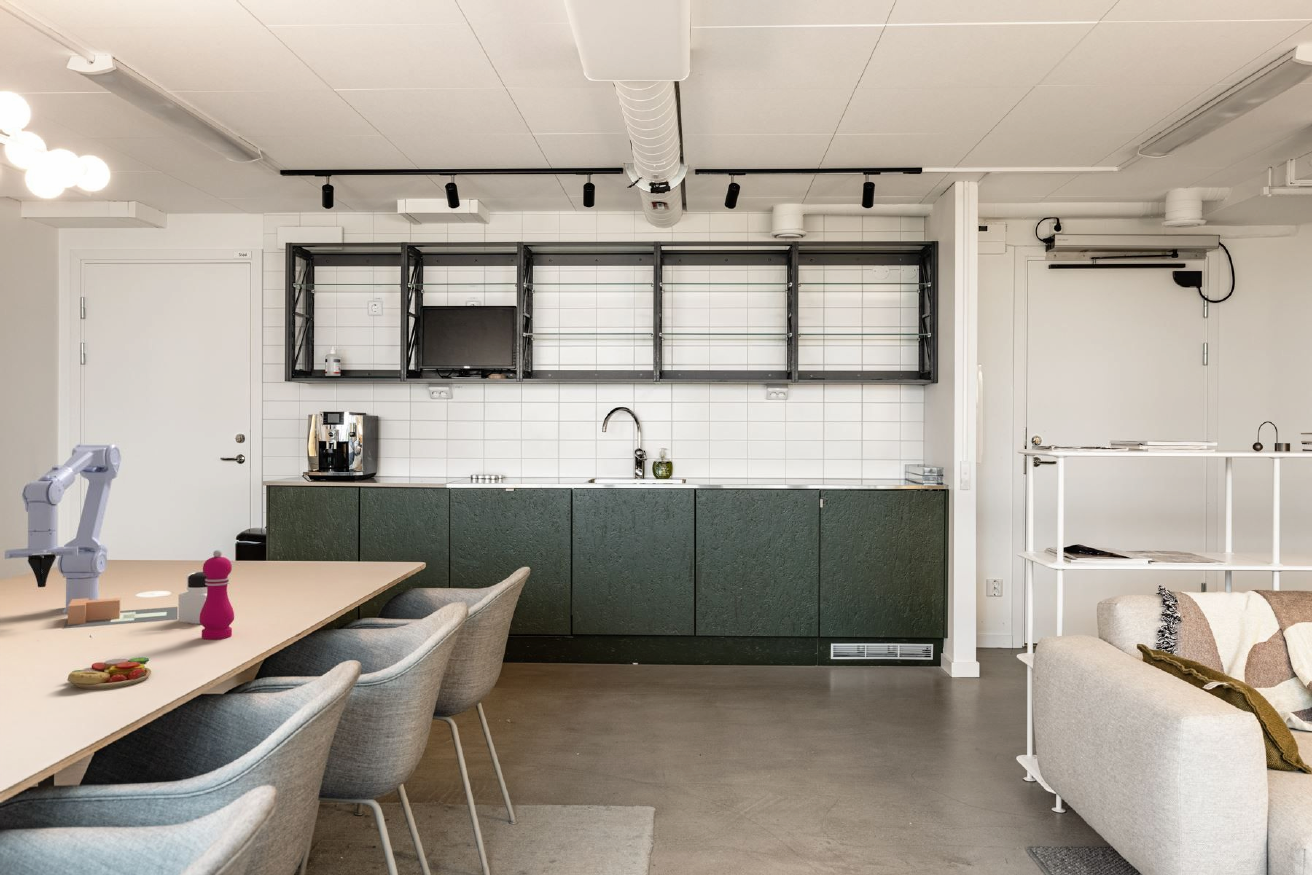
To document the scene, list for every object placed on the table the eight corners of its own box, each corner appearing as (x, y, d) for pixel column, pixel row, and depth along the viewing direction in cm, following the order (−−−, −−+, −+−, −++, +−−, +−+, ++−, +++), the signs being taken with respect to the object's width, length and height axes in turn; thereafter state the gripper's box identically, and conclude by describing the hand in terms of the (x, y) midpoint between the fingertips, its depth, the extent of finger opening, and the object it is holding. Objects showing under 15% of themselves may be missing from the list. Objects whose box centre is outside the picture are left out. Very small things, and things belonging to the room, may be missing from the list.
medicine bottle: (222, 618, 225) (222, 570, 225) (205, 624, 218) (205, 575, 218) (195, 617, 226) (195, 570, 226) (177, 623, 219) (178, 574, 219)
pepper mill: (241, 634, 207) (242, 548, 207) (216, 641, 200) (217, 552, 200) (216, 632, 209) (217, 547, 209) (191, 638, 203) (192, 550, 203)
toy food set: (62, 695, 160) (62, 677, 160) (76, 676, 172) (76, 659, 172) (147, 687, 165) (147, 669, 165) (155, 669, 177) (155, 653, 177)
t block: (72, 617, 223) (72, 599, 223) (120, 613, 228) (121, 595, 228) (67, 624, 214) (67, 606, 214) (118, 620, 219) (118, 602, 219)
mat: (70, 616, 226) (70, 614, 226) (177, 608, 237) (177, 606, 237) (62, 630, 210) (62, 628, 210) (177, 620, 221) (177, 619, 221)
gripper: (2, 533, 209) (2, 591, 209) (76, 530, 215) (75, 586, 215) (7, 530, 215) (7, 586, 215) (79, 528, 222) (78, 582, 222)
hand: (41, 586), depth 216 cm, fingers closed
